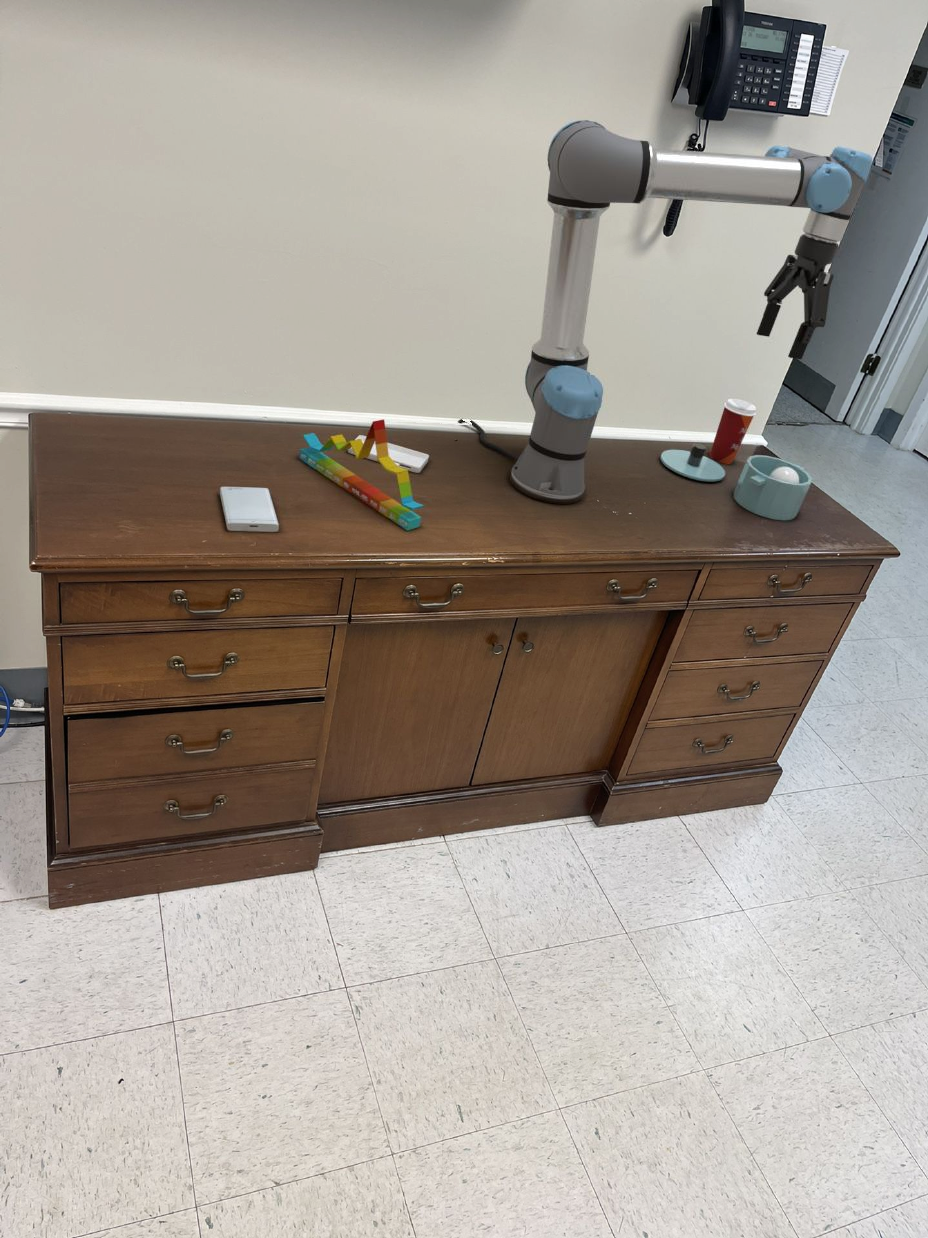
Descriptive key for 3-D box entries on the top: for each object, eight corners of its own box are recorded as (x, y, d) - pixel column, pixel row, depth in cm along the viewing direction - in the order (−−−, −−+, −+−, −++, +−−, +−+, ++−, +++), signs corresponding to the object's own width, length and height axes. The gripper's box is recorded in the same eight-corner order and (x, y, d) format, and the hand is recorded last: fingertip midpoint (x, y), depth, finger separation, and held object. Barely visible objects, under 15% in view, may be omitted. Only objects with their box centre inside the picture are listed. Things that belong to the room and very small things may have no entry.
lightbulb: (744, 494, 202) (775, 477, 192) (757, 473, 204) (788, 456, 194) (765, 512, 203) (797, 496, 193) (778, 491, 205) (810, 475, 195)
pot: (714, 497, 200) (728, 461, 196) (760, 483, 213) (774, 449, 208) (768, 527, 192) (784, 491, 188) (813, 511, 205) (829, 477, 200)
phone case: (428, 460, 186) (359, 440, 187) (429, 454, 185) (360, 434, 186) (418, 474, 179) (346, 452, 181) (419, 467, 179) (347, 446, 180)
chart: (298, 458, 174) (306, 383, 166) (311, 455, 176) (320, 381, 168) (406, 531, 159) (421, 452, 151) (419, 526, 161) (434, 448, 153)
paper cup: (737, 468, 218) (759, 413, 210) (705, 460, 218) (726, 404, 211) (735, 456, 224) (756, 402, 217) (705, 448, 225) (725, 394, 217)
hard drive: (220, 486, 156) (227, 522, 146) (268, 487, 159) (279, 523, 149) (219, 494, 157) (227, 531, 147) (268, 496, 160) (278, 532, 150)
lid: (646, 459, 211) (654, 436, 208) (684, 450, 221) (692, 428, 218) (699, 488, 203) (708, 465, 200) (735, 478, 212) (744, 455, 209)
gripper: (873, 258, 167) (825, 370, 178) (804, 225, 187) (765, 328, 198) (839, 251, 165) (792, 365, 176) (773, 219, 184) (735, 324, 196)
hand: (778, 346), depth 187 cm, fingers open, 13 cm apart
